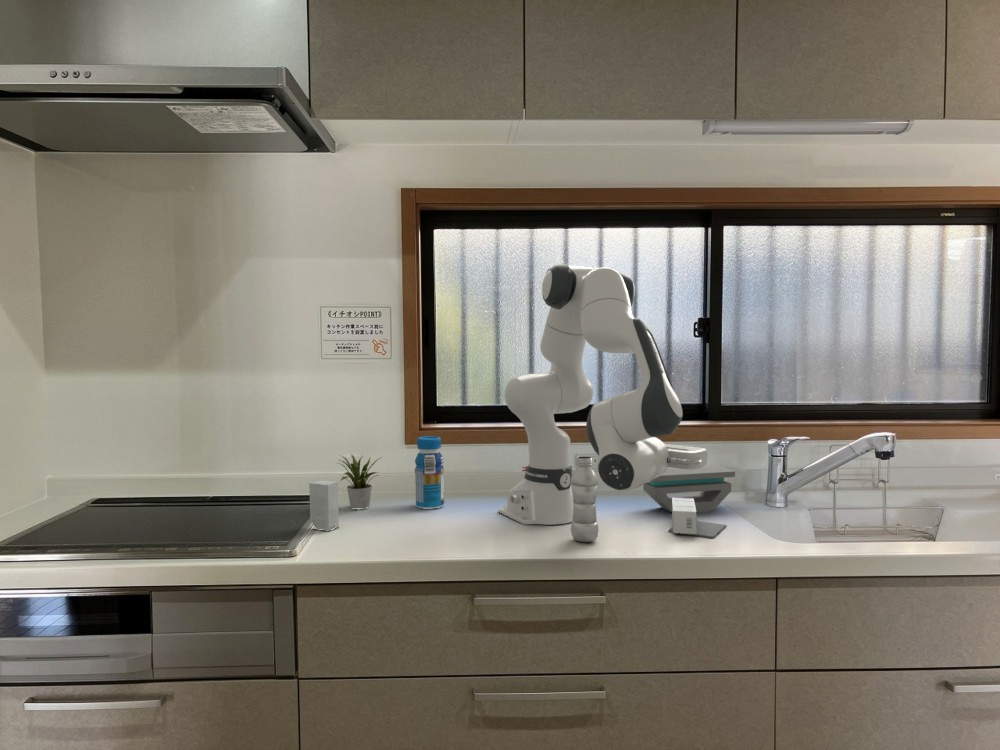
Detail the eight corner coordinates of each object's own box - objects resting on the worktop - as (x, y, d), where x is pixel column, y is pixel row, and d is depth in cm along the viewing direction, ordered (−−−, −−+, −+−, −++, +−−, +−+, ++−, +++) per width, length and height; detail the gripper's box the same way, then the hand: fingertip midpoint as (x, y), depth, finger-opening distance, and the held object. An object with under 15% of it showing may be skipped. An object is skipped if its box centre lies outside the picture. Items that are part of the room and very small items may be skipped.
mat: (713, 538, 160) (713, 536, 160) (668, 531, 166) (668, 529, 166) (726, 526, 170) (726, 524, 170) (683, 520, 176) (683, 518, 176)
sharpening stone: (652, 516, 181) (652, 476, 181) (639, 508, 189) (639, 470, 188) (734, 510, 187) (735, 471, 186) (719, 503, 195) (719, 466, 194)
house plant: (319, 511, 189) (318, 453, 188) (348, 500, 201) (347, 446, 200) (362, 516, 183) (361, 456, 182) (389, 504, 196) (388, 449, 195)
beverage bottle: (409, 507, 192) (408, 438, 191) (427, 501, 199) (426, 434, 198) (432, 511, 187) (431, 440, 186) (450, 505, 194) (449, 436, 193)
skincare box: (339, 527, 172) (338, 481, 171) (328, 532, 168) (327, 485, 167) (320, 525, 174) (319, 479, 174) (309, 529, 171) (308, 482, 170)
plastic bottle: (581, 546, 155) (581, 461, 154) (565, 539, 161) (565, 456, 160) (604, 542, 158) (604, 458, 157) (587, 535, 164) (587, 454, 162)
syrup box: (697, 511, 161) (695, 497, 175) (671, 510, 163) (671, 496, 177) (697, 534, 161) (695, 519, 176) (671, 533, 163) (672, 518, 177)
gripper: (697, 448, 131) (716, 438, 143) (601, 437, 142) (626, 429, 154) (696, 480, 132) (715, 467, 143) (600, 467, 143) (625, 456, 154)
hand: (668, 447), depth 148 cm, fingers closed
